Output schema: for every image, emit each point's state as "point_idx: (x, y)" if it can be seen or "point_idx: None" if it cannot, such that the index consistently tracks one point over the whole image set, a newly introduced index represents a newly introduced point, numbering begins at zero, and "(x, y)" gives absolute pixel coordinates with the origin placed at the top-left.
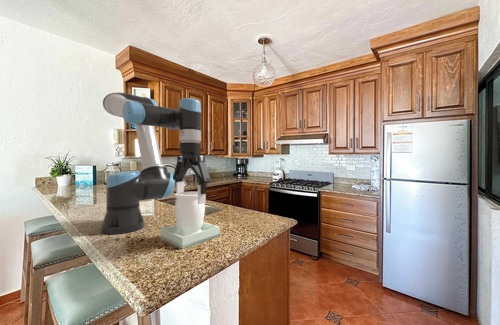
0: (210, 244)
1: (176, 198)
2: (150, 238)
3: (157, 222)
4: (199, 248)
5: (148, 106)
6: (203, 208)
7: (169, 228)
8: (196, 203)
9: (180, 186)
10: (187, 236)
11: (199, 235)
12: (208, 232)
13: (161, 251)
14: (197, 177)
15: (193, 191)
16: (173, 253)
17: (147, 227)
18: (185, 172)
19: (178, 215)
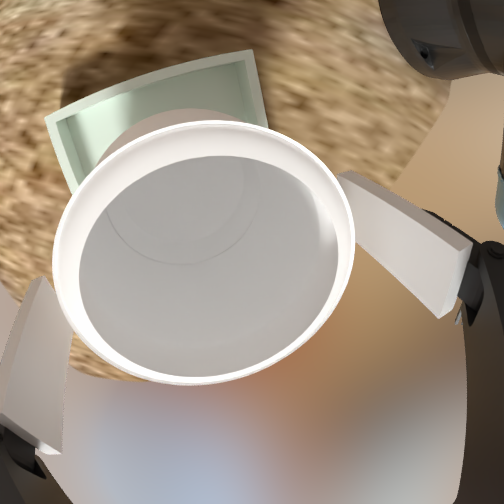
0: (58, 220)
1: (355, 172)
2: (265, 25)
3: (426, 124)
4: (38, 174)
5: None
6: (128, 294)
7: (249, 92)
8: (86, 273)
9: (414, 257)
10: (52, 141)
11: None
12: None
13: (83, 38)
14: (10, 497)
15: (315, 328)
16: (40, 78)
17: (399, 72)
18: (472, 432)
19: (143, 119)
